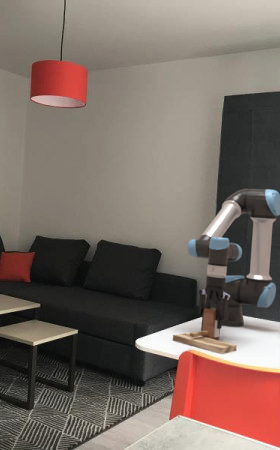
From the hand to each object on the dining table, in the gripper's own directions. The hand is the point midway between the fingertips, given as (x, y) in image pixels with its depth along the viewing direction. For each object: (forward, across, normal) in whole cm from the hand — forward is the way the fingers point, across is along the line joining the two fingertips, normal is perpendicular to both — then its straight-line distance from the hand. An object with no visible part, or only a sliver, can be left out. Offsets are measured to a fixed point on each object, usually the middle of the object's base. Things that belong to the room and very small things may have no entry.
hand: (210, 335), depth 201 cm
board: (+2, +3, -9) cm, 10 cm away
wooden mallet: (+2, 0, -5) cm, 5 cm away
